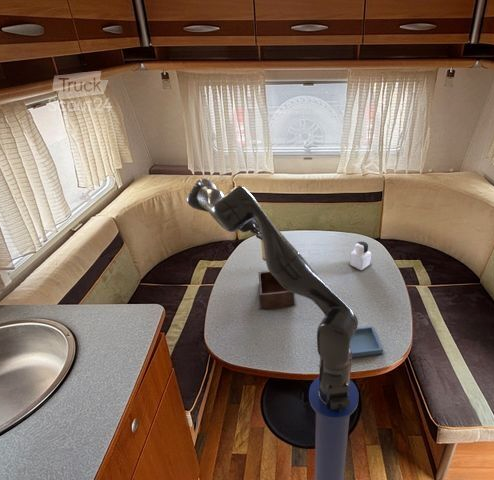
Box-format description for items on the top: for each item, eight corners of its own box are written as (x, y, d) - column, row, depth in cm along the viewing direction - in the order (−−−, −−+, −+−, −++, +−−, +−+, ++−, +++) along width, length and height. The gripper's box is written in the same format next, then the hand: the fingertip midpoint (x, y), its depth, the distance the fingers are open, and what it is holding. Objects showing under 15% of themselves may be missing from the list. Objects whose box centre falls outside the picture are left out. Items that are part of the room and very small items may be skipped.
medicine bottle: (358, 258, 177) (360, 238, 171) (370, 264, 173) (372, 243, 167) (349, 264, 173) (351, 243, 167) (361, 270, 169) (363, 249, 162)
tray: (382, 353, 127) (382, 349, 126) (339, 359, 125) (339, 355, 124) (372, 329, 137) (372, 325, 136) (332, 334, 135) (332, 330, 134)
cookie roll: (275, 260, 142) (273, 233, 136) (262, 261, 141) (260, 234, 135) (274, 253, 146) (272, 227, 140) (262, 254, 146) (259, 228, 139)
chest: (261, 308, 147) (259, 295, 143) (259, 285, 160) (258, 271, 157) (294, 305, 149) (293, 291, 145) (290, 282, 162) (289, 268, 158)
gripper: (227, 217, 135) (259, 237, 146) (238, 234, 124) (272, 254, 135) (239, 202, 135) (271, 223, 145) (251, 218, 124) (284, 239, 134)
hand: (271, 238), depth 140 cm, fingers closed on cookie roll, 5 cm apart
